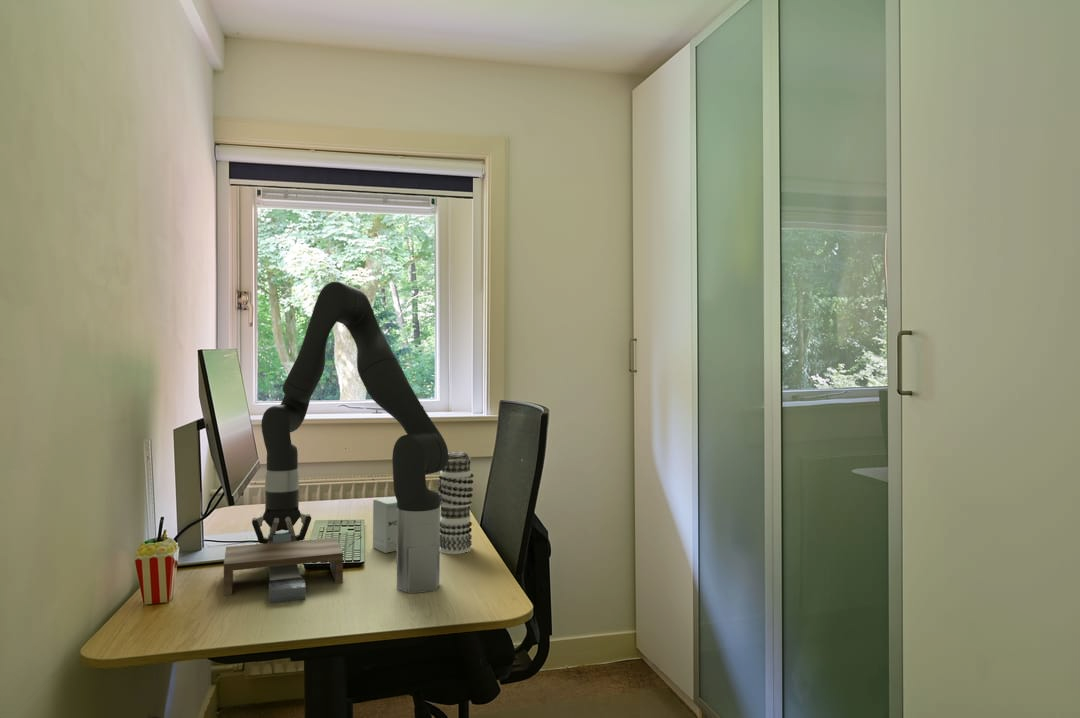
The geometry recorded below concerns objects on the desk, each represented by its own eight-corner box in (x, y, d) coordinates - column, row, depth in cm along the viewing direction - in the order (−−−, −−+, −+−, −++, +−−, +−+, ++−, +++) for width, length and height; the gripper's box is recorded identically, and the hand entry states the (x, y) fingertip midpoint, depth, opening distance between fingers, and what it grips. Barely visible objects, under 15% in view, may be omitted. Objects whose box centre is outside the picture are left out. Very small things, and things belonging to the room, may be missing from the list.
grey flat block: (305, 601, 147) (305, 586, 146) (269, 605, 144) (269, 590, 144) (303, 590, 153) (303, 576, 153) (268, 594, 150) (268, 580, 150)
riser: (342, 582, 158) (342, 553, 158) (223, 595, 149) (223, 564, 149) (335, 564, 171) (336, 537, 171) (226, 575, 162) (226, 546, 162)
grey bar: (268, 561, 173) (268, 532, 173) (294, 558, 175) (294, 530, 175) (270, 589, 151) (270, 556, 151) (300, 586, 153) (300, 553, 153)
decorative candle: (476, 553, 181) (477, 454, 181) (439, 555, 179) (440, 455, 179) (469, 543, 190) (470, 449, 190) (434, 546, 188) (435, 450, 187)
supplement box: (385, 553, 180) (385, 503, 180) (372, 547, 186) (372, 498, 186) (411, 548, 185) (411, 500, 185) (397, 542, 191) (398, 495, 191)
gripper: (250, 492, 166) (249, 566, 166) (314, 488, 171) (313, 560, 171) (250, 486, 173) (249, 557, 173) (312, 483, 178) (311, 552, 178)
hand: (281, 558), depth 172 cm, fingers closed on grey bar, 4 cm apart
